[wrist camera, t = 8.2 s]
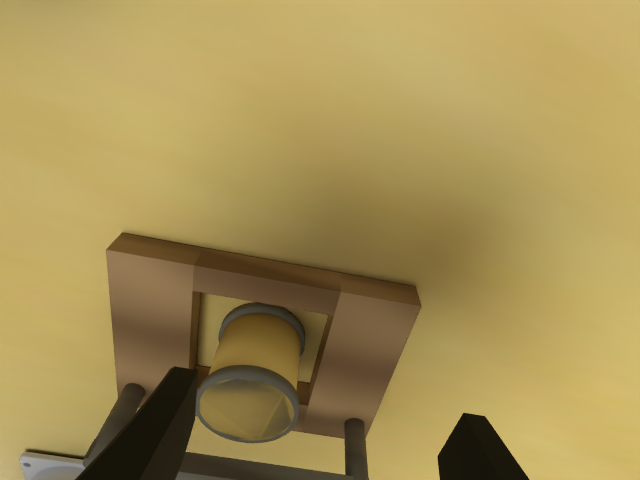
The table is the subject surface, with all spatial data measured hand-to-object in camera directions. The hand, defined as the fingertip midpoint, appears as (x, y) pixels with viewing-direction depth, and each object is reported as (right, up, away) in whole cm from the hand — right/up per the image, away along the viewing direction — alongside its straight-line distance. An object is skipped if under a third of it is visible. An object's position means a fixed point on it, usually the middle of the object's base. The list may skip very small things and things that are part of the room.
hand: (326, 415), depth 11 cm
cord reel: (-3, -1, +12) cm, 12 cm away
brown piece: (-4, -1, +12) cm, 13 cm away
